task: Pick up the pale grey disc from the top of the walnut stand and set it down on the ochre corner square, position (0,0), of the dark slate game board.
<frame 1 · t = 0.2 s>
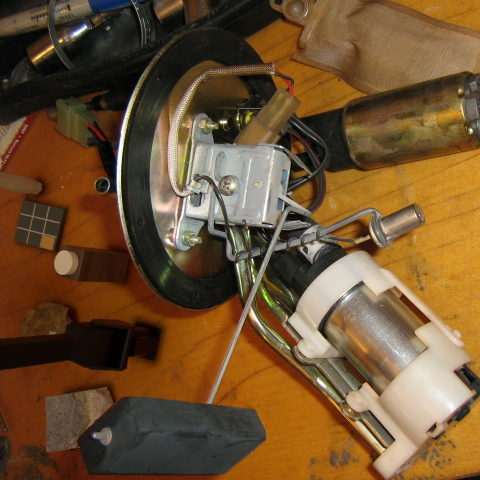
board: (41, 225, 108), on the table
stand: (116, 265, 98), on the table
decorative rock: (54, 327, 103), on the table
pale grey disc: (69, 262, 87), point 11 cm above the table, touching stand
handle: (39, 188, 110), on the table
geological specimen: (91, 414, 97), on the table
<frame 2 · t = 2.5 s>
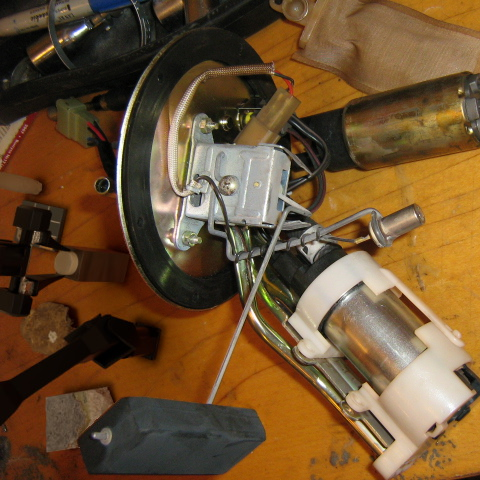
hand: (66, 262, 87), 12 cm above the table, tool pointing down, fingers closed on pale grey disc, 4 cm apart
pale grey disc: (69, 263, 87), point 12 cm above the table, touching gripper, stand
everything else where it was.
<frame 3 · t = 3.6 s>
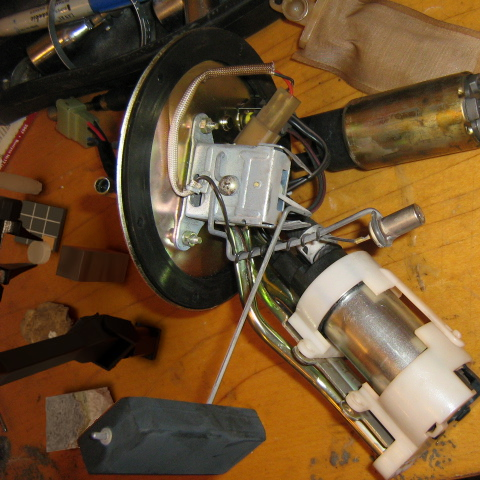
hand: (39, 252, 88), 13 cm above the table, tool pointing down, fingers closed on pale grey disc, 4 cm apart
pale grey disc: (42, 252, 89), point 13 cm above the table, touching gripper
everything else where it was.
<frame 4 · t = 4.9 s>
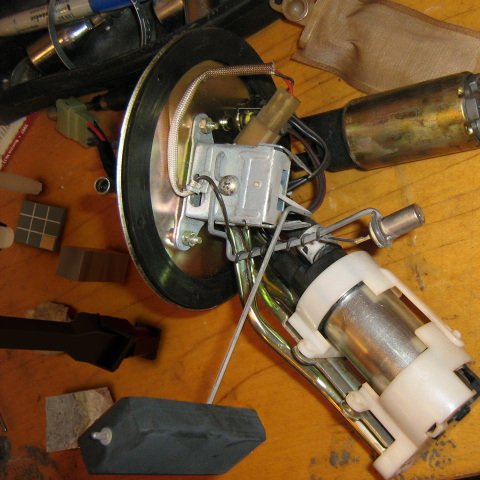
hand: (3, 237, 94), 13 cm above the table, tool pointing down, fingers closed on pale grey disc, 4 cm apart
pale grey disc: (6, 237, 94), point 12 cm above the table, touching gripper
everything else where it was.
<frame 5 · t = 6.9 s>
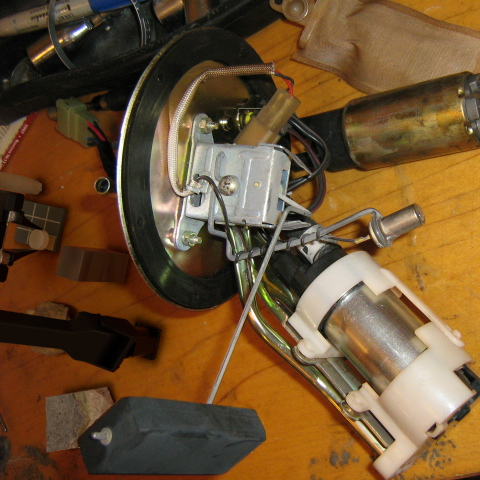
hand: (38, 239, 103), 4 cm above the table, tool pointing down, fingers closed on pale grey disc, 4 cm apart
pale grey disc: (41, 240, 103), point 3 cm above the table, touching gripper
everything else where it was.
when the fingers open (2 cm above the table, at t = 7.8 s): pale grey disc stays where it is, resting on board.
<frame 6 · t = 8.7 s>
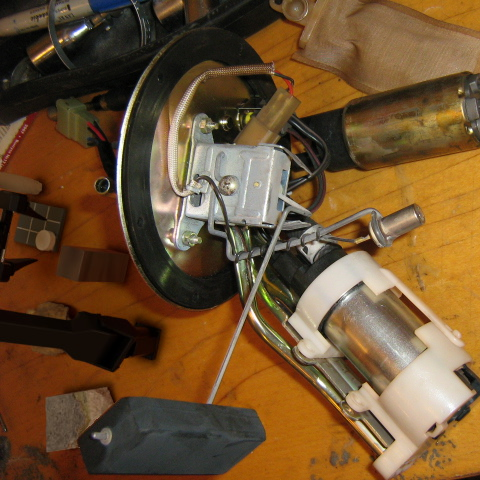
hand: (41, 239, 103), 3 cm above the table, tool pointing down, fingers open, 9 cm apart
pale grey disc: (48, 240, 105), point 1 cm above the table, touching board
everything else where it was.
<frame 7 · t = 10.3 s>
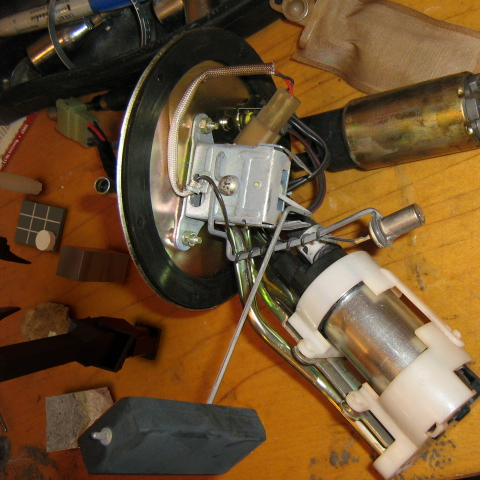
hand: (24, 285, 91), 12 cm above the table, tool pointing down, fingers open, 9 cm apart
nothing on the table moved.
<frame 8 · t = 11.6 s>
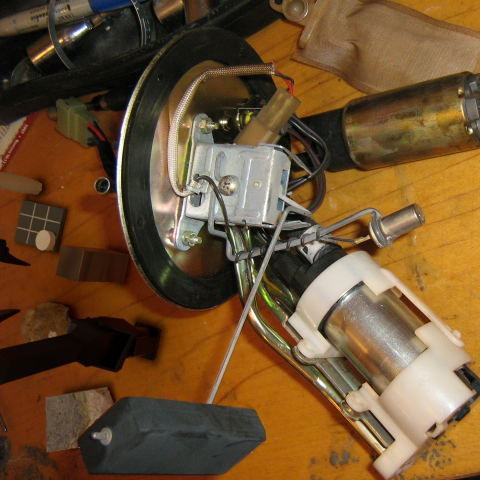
hand: (24, 287, 91), 12 cm above the table, tool pointing down, fingers open, 9 cm apart
nothing on the table moved.
at the end: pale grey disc 0.4 cm from the target spot on the board, point 1.2 cm above the board's base; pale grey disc tilted 0° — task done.
